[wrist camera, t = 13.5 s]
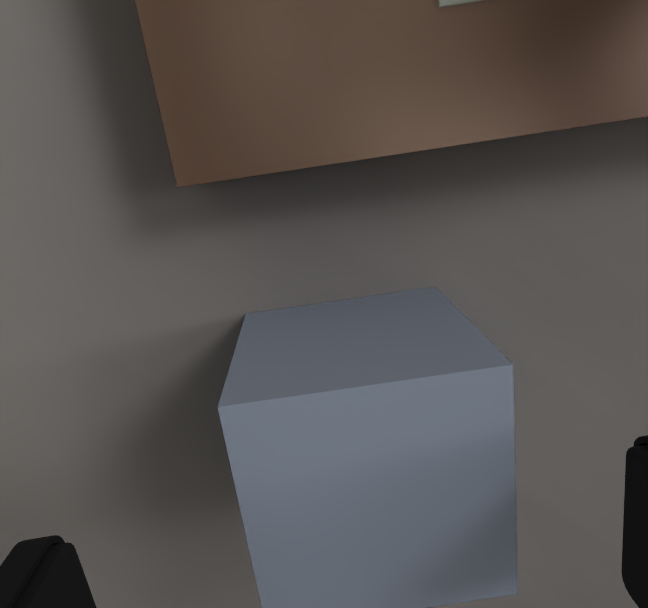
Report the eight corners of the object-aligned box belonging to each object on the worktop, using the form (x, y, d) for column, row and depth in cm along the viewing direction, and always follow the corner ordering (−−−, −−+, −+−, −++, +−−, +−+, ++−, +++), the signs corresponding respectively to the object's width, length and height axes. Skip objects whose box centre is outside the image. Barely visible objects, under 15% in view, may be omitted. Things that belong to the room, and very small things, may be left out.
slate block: (434, 286, 13) (513, 364, 8) (445, 449, 15) (518, 593, 10) (245, 312, 13) (217, 407, 8) (276, 474, 15) (267, 631, 10)
